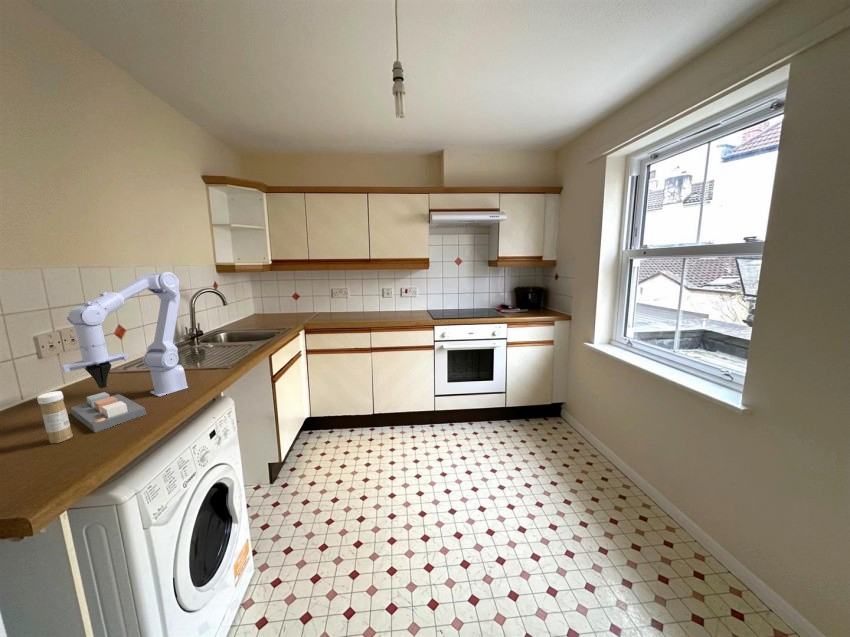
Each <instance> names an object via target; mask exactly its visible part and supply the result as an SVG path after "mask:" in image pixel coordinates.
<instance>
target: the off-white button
mask: <svg viewBox="0 0 850 637" xmlns="http://www.w3.org/2000/svg"><path fill="white" fill-rule="evenodd" d="M102 411H103V415H104V417H106V418H110V417H114V416H117V415H120V414H123V413H126V412H128V410H127V406H126V404H125V403H124V402H122V401H119V402H116V403H112V404H109V405H106V406H102Z"/></svg>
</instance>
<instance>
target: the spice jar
mask: <svg viewBox="0 0 850 637" xmlns="http://www.w3.org/2000/svg"><path fill="white" fill-rule="evenodd" d="M36 400H37V403H38V405H39V406H40V410H41V411H40V412H41V415H42V419H43V424H44V427H45V431H46V432H47V436H48V439H49V440H48V442H49V443H50V444H58V443H62V442H65V441H67V440H70V439H72V438H73V436H74V435H73V432H72V428H71V424H70V420H69V416H68V412H67V408H66V405H65V402H64V394H63V392H62V391H61V390H58V391H57V390H56V391H50V392H46V393H43V394H40V395H38V396H37V397H36Z"/></svg>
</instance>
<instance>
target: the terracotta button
mask: <svg viewBox="0 0 850 637" xmlns="http://www.w3.org/2000/svg"><path fill="white" fill-rule="evenodd" d="M111 396H112V397H108V398H105V399H101V400H98V401H94V405H95V409H96V411H97V412H98V413H100V412H103V411H102V406H106V405H109V404H112V403H116V402H118V399H116V398H115V397H113V396H114V395H111Z"/></svg>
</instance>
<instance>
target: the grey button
mask: <svg viewBox="0 0 850 637" xmlns="http://www.w3.org/2000/svg"><path fill="white" fill-rule="evenodd" d="M110 396H111V395H110V394H109V393H107V392H105V391H104V392H100V393H96V394H92V395H88V396H86V400H87V403H88V405H89V406H90V407H91V408H92V407H95V405H94V401H98V400H101V399H105V398H108V397H110Z"/></svg>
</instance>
